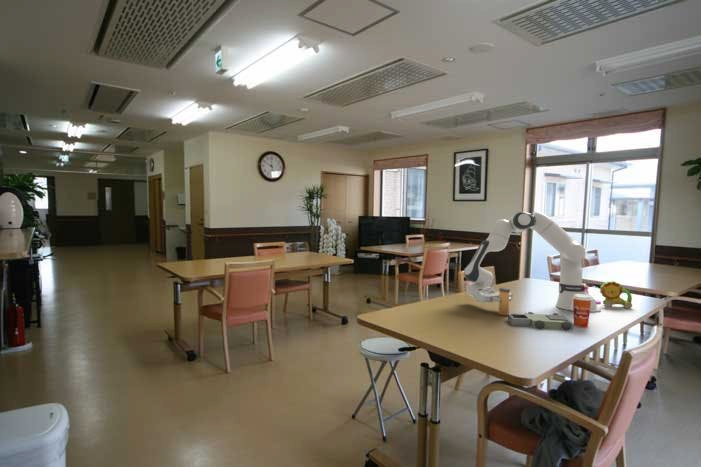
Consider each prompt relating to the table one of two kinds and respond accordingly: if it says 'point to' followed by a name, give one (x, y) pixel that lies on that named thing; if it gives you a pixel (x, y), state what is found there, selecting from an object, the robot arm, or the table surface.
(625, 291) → the toy lion
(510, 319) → the box
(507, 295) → the orange and grey cylinder
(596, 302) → the bracket
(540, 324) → the toy wheeled cart
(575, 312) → the coffee cup
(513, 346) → the table surface
